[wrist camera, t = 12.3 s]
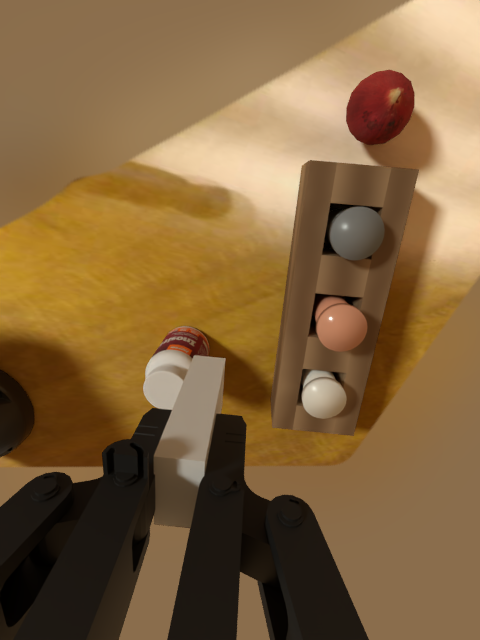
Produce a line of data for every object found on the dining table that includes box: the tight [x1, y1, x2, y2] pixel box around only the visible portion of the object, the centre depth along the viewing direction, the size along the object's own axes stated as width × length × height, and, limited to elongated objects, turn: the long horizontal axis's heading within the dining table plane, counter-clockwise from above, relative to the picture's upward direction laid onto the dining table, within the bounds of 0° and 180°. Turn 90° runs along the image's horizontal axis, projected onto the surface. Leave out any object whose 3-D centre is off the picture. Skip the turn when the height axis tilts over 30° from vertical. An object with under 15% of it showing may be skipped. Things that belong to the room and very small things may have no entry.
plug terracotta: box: [312, 293, 367, 352], centre depth 37 cm, size 5×5×8 cm
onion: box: [346, 70, 414, 145], centre depth 31 cm, size 6×6×8 cm
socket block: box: [271, 160, 419, 436], centre depth 39 cm, size 10×30×6 cm, turn 175°
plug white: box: [301, 369, 347, 419], centre depth 41 cm, size 5×5×8 cm
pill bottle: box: [143, 326, 210, 410], centre depth 40 cm, size 6×6×11 cm
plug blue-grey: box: [324, 207, 385, 260], centre depth 35 cm, size 5×5×8 cm
